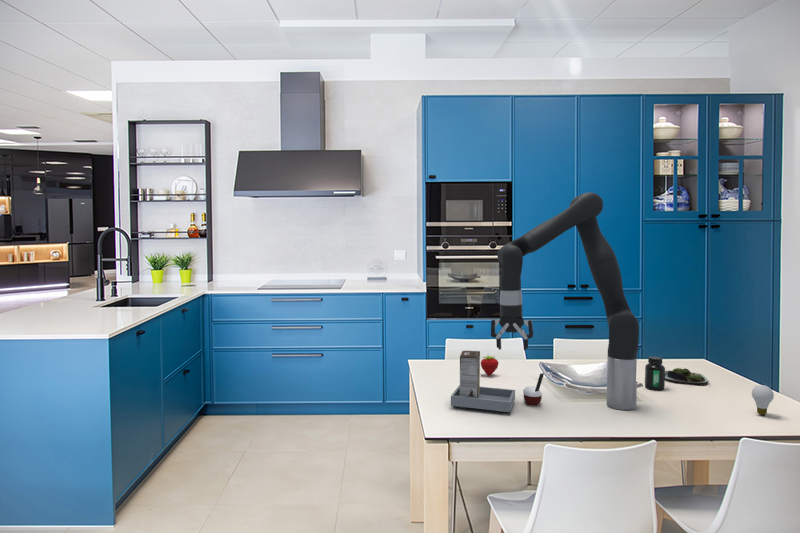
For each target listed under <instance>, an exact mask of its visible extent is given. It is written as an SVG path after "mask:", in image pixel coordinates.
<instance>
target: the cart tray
mask: <svg viewBox="0 0 800 533" xmlns="http://www.w3.org/2000/svg"><path fill="white" fill-rule="evenodd" d="M515 400H516V389H509V388H508V389H507V388H497V387H488V386H480V395H479V398H472V397H462V396H460V384H459V385H458V386H456V388H455V390H453V392H452V394H451V395H450V406H452V407H456V408H457V409H461V408H470V409H477V410H487V411H497V412H501V414H505V413H506V412H507V413H511V411H512V409H513V406H514V404H515Z"/></svg>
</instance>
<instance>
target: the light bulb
mask: <svg viewBox="0 0 800 533" xmlns="http://www.w3.org/2000/svg"><path fill="white" fill-rule="evenodd" d="M751 390H752V391H751V397H752V399H753V400H754V402H755V405H756V413H757V414H758V415H759V416H766V415H767V414H768V408H769V406H770V404H771V403H772V401H773V400H774V396H775V394H774V392H773V390H772V388H770V387H769V386H767V385H764V384H758V385H756V386H754V387H753V388H752V389H751Z"/></svg>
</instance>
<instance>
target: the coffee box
mask: <svg viewBox="0 0 800 533" xmlns="http://www.w3.org/2000/svg"><path fill="white" fill-rule="evenodd" d="M480 359H481V351H480V350H462V351H461V353H460V355H459V385H460V396H462V397H472V398H479V395H480V387H481V385H480V383H481V380H480V378H481V375H480V374H481V373H480V372H481V360H480Z"/></svg>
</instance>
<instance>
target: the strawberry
mask: <svg viewBox="0 0 800 533" xmlns="http://www.w3.org/2000/svg"><path fill="white" fill-rule="evenodd" d="M489 354H490V353H488V354H487V355H486V356H482V360H480V368H481V369H482V370H483V371H484V373H485V374H486V376H487V377H491V376H492V374H493V373H495V372H496V370H497V369H498V366H499V360H498V359H496V358H495V356H491V355H490V356H489Z"/></svg>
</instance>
